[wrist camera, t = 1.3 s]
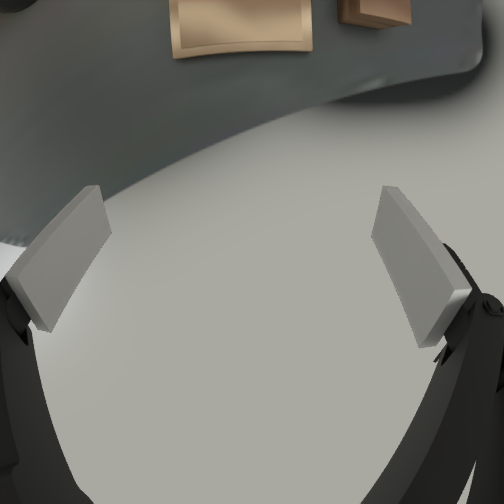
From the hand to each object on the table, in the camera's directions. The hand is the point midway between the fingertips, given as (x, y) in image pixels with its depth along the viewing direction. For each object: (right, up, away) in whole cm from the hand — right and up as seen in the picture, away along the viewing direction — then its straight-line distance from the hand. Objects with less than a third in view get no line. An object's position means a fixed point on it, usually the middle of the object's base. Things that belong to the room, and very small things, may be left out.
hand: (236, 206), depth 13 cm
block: (+12, +25, +9) cm, 29 cm away
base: (-1, +25, +9) cm, 26 cm away
